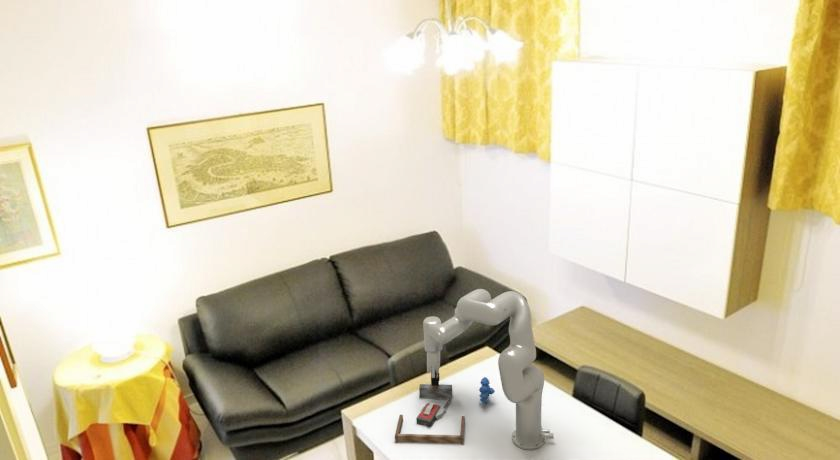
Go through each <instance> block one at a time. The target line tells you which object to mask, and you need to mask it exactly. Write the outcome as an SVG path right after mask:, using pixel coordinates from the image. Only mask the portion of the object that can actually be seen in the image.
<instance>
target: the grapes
mask: <svg viewBox="0 0 840 460" xmlns="http://www.w3.org/2000/svg"><path fill="white" fill-rule="evenodd" d="M479 383H480V384H481V386H480V387H479V389H478V391H479V392H480V394H479V397H480V399H479V401H480V403H481V404H483V405H485V404H487V403H489V401H490V400H489V399H488V398H489V397H490V395H493V394H495V392H496V391H495V389H494V388H493V387H491V385H490V379H489V378H488V377H486V376H483V378H481V379H480V382H479Z"/></svg>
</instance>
